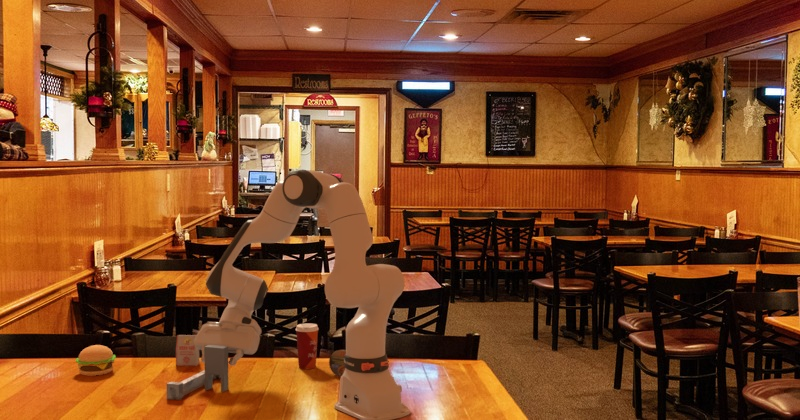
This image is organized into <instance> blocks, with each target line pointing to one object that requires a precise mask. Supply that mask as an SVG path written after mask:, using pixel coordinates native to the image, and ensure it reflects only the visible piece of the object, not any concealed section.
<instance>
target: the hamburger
mask: <svg viewBox="0 0 800 420" xmlns="http://www.w3.org/2000/svg"><path fill="white" fill-rule="evenodd" d="M113 353H114V352H113V351H112V350H111V348H109V347H108V346H106V345H101V344H95V345H93V344H92V345H89V346H88V347H85V348H84V349H82V351H80V353H79V354H78V357H77V358H75V362H76V363H77V369H78V372H79V374H80V375H81V376H82V375H83V376H87V377H97V376H96V375H99V376H103V374H104V375H106V374H107V375H108V374H109V373H111V372H112V371H113V369H114V366H113V363H115V359H116V358H117V357H116V354H113Z"/></svg>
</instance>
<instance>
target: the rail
mask: <svg viewBox="0 0 800 420" xmlns="http://www.w3.org/2000/svg"><path fill="white" fill-rule="evenodd" d="M219 379H220V380H221V375H216V374H212V382H213V381H215V380H219ZM204 386H205V369H203V370H202V371H200V372H198V373H196V374H193V375H192V376H190V377H188V378H185V379H183V380H182V381H169V382H167V383H166V400H172V401H173V400H174V401H175V400H176V401H181V400H182V399H184V397H185V396H186V395H188V394H190V393H192V392H193V391H195V390H198V389H199V388H201V387H204Z"/></svg>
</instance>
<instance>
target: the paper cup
mask: <svg viewBox="0 0 800 420" xmlns="http://www.w3.org/2000/svg"><path fill="white" fill-rule="evenodd" d="M319 330H320V329H319V327H318V324H317V323H305V322H304V323H299V324H297V325H296V328H295V331H296V343H297V344H296V346H297V361H298V368H299V369H301V370H312V369H315V368H316V367H317V351H318V348H317V347H318V334H319Z"/></svg>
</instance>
